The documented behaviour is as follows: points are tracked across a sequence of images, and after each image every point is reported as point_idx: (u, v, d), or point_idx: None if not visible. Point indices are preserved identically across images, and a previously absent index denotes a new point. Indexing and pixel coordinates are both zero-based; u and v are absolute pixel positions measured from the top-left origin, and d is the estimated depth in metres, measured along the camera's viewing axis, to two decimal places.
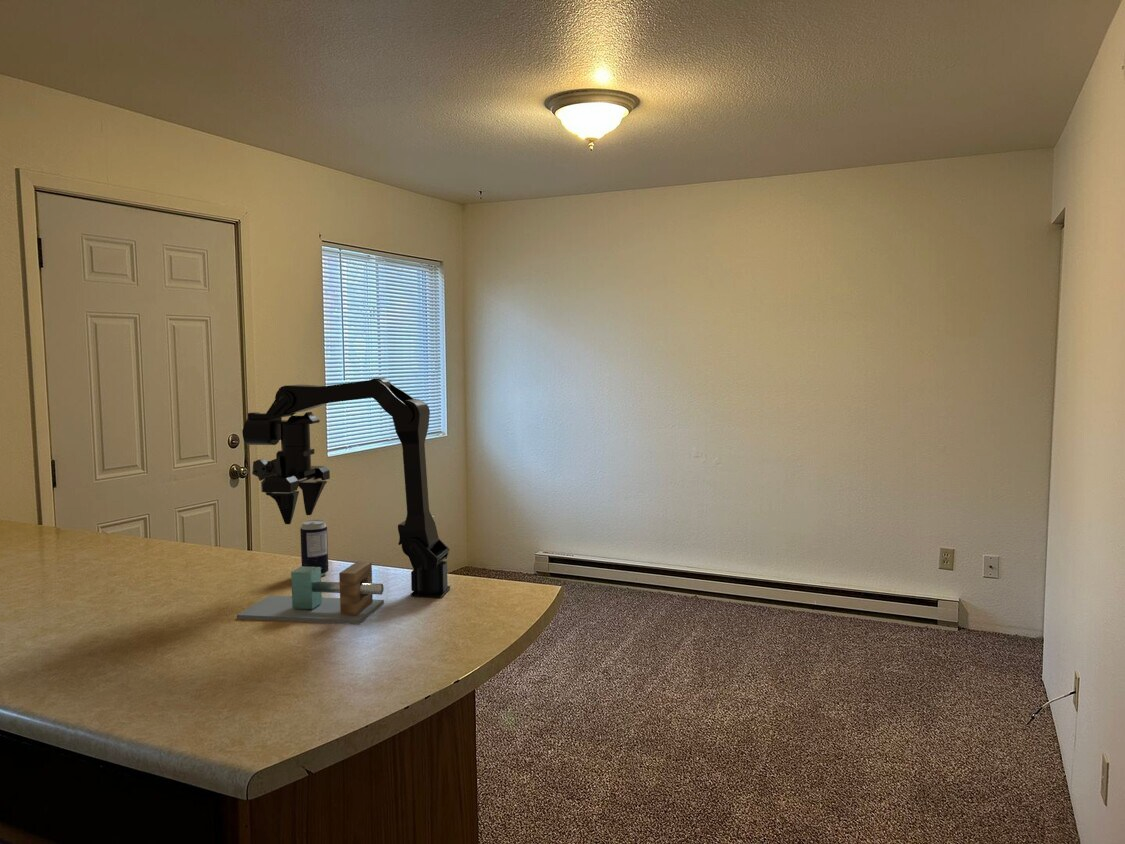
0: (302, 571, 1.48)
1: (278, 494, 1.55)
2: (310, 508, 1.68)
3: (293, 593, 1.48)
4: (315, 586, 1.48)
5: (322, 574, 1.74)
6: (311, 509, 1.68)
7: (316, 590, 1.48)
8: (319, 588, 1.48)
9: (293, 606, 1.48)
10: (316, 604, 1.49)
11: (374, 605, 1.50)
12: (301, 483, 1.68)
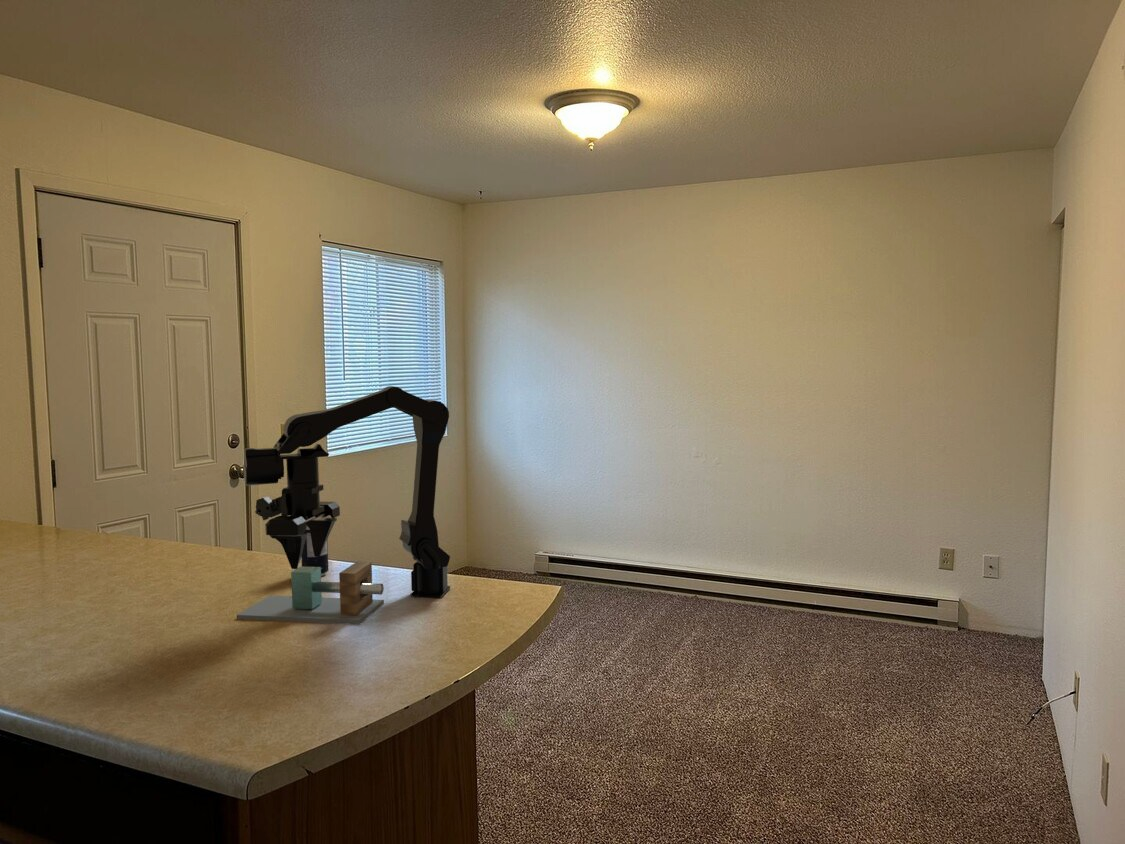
0: (302, 571, 1.48)
1: (284, 537, 1.41)
2: (318, 549, 1.53)
3: (293, 593, 1.48)
4: (315, 586, 1.48)
5: (322, 574, 1.74)
6: (320, 550, 1.53)
7: (316, 590, 1.48)
8: (319, 588, 1.48)
9: (293, 606, 1.48)
10: (316, 604, 1.49)
11: (374, 605, 1.50)
12: (309, 521, 1.54)
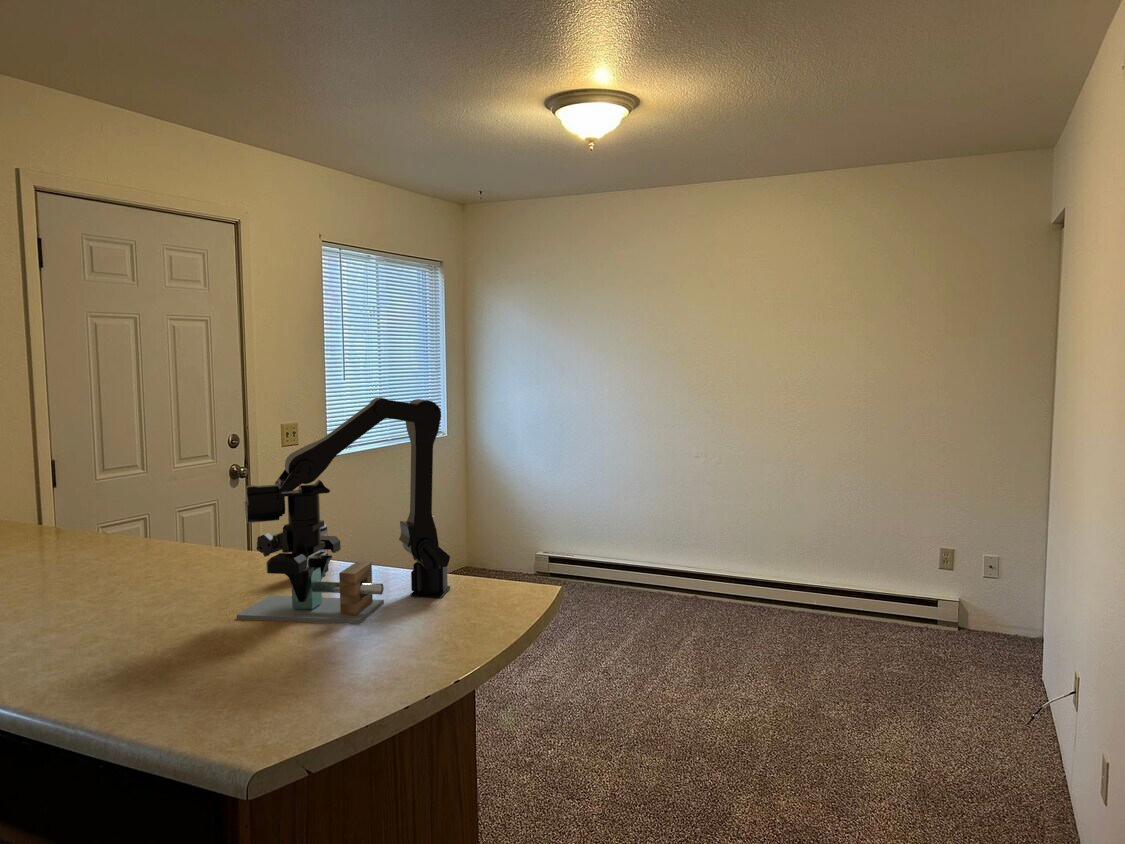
0: None
1: None
2: None
3: (293, 593, 1.48)
4: (315, 586, 1.48)
5: None
6: None
7: (316, 590, 1.48)
8: (319, 588, 1.48)
9: (293, 606, 1.48)
10: (316, 604, 1.49)
11: (374, 605, 1.50)
12: None
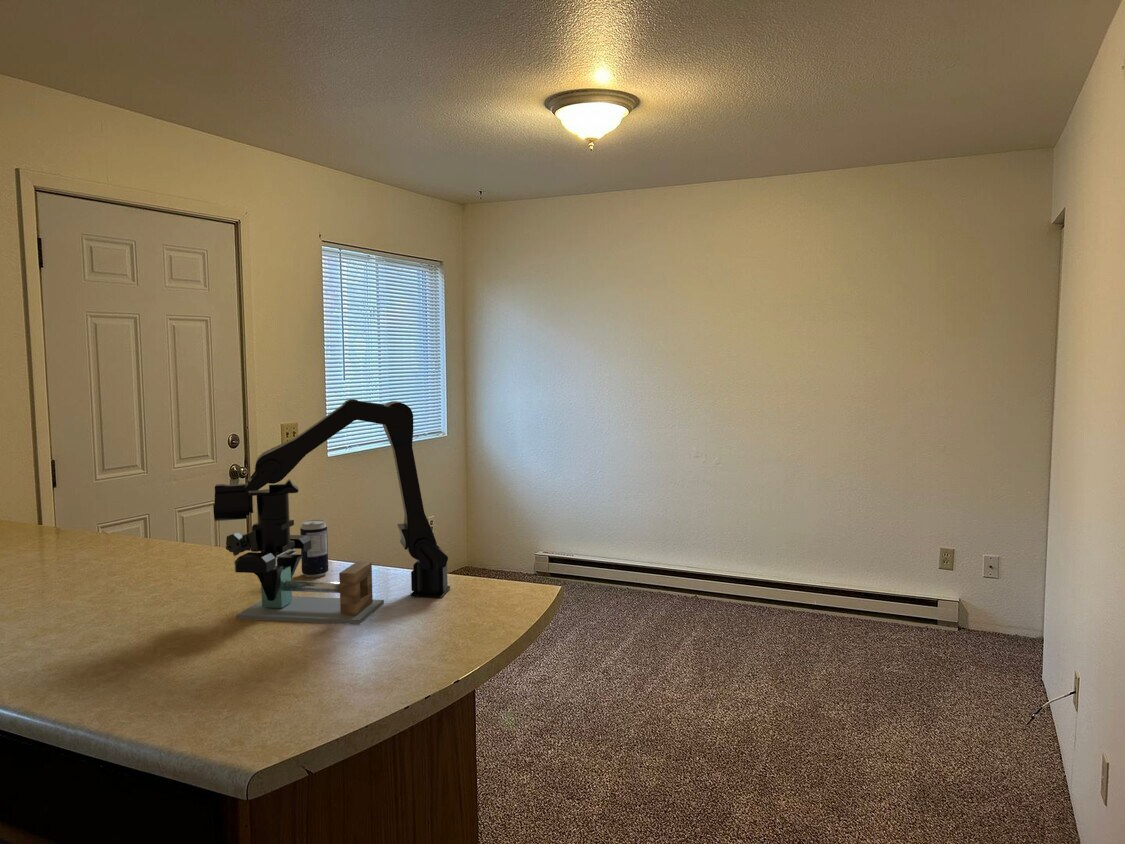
0: None
1: None
2: None
3: (263, 592, 1.49)
4: (285, 585, 1.49)
5: (322, 574, 1.74)
6: None
7: (286, 589, 1.49)
8: (289, 587, 1.49)
9: (263, 605, 1.49)
10: (286, 603, 1.50)
11: (374, 605, 1.50)
12: None
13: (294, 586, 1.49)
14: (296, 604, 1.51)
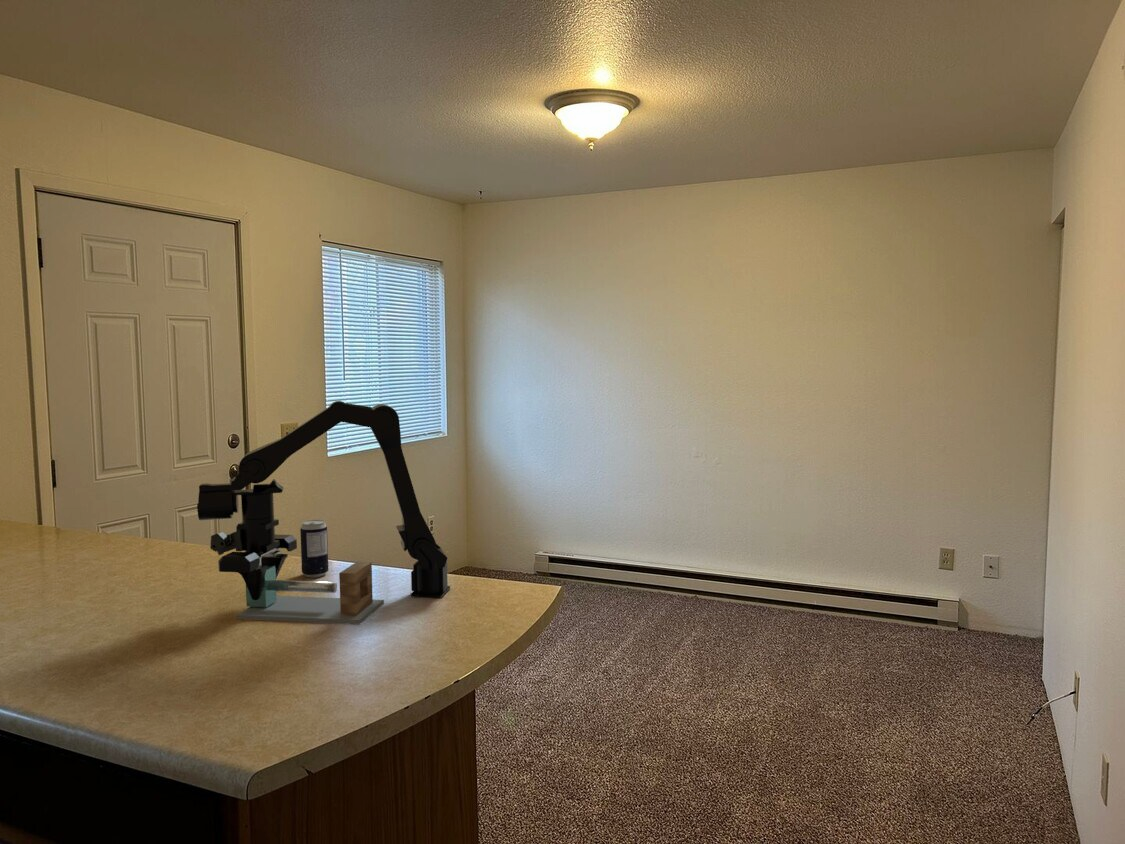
0: None
1: None
2: None
3: (247, 591, 1.49)
4: (269, 584, 1.49)
5: (322, 574, 1.74)
6: None
7: (270, 588, 1.50)
8: (273, 587, 1.49)
9: (247, 604, 1.49)
10: (270, 602, 1.50)
11: (374, 605, 1.50)
12: None
13: (278, 585, 1.49)
14: (296, 604, 1.51)
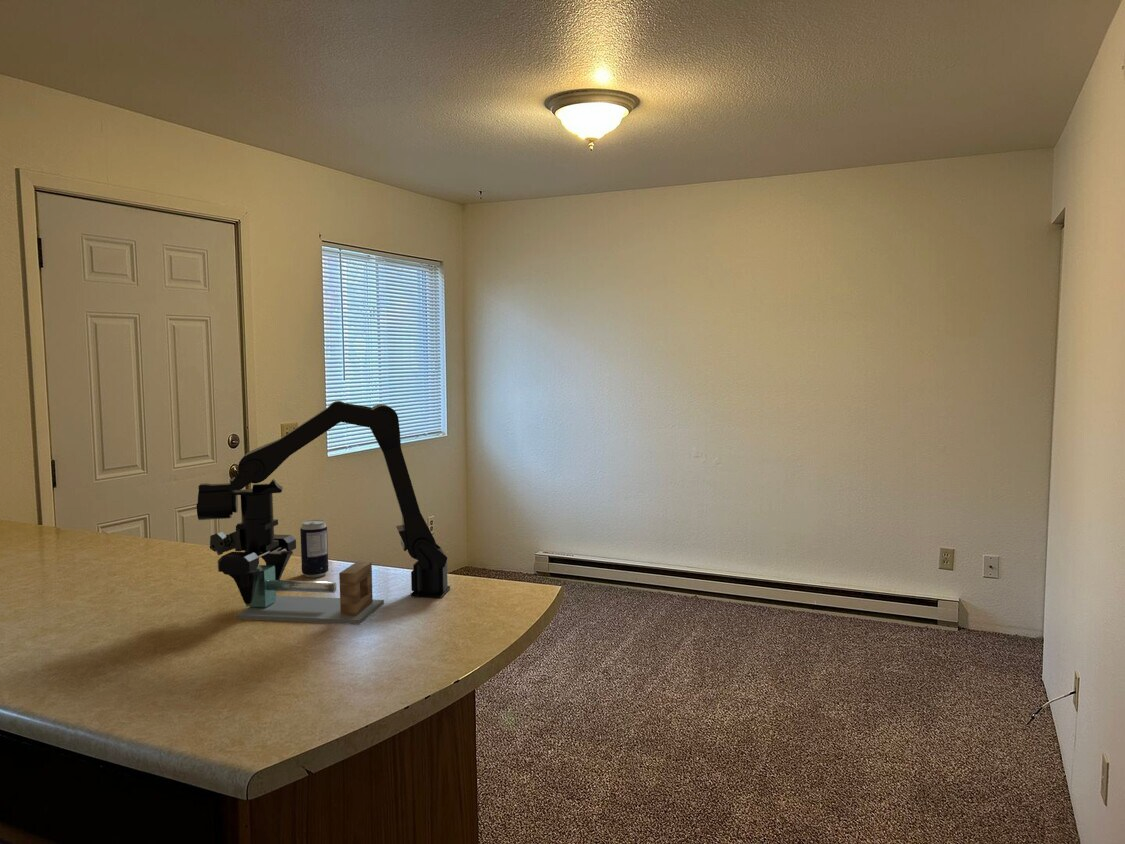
0: None
1: (236, 573, 1.42)
2: None
3: None
4: (268, 584, 1.49)
5: (322, 574, 1.74)
6: None
7: (269, 588, 1.50)
8: (273, 587, 1.49)
9: (246, 604, 1.49)
10: (270, 602, 1.50)
11: (374, 605, 1.50)
12: (265, 555, 1.56)
13: (278, 585, 1.49)
14: (296, 604, 1.51)
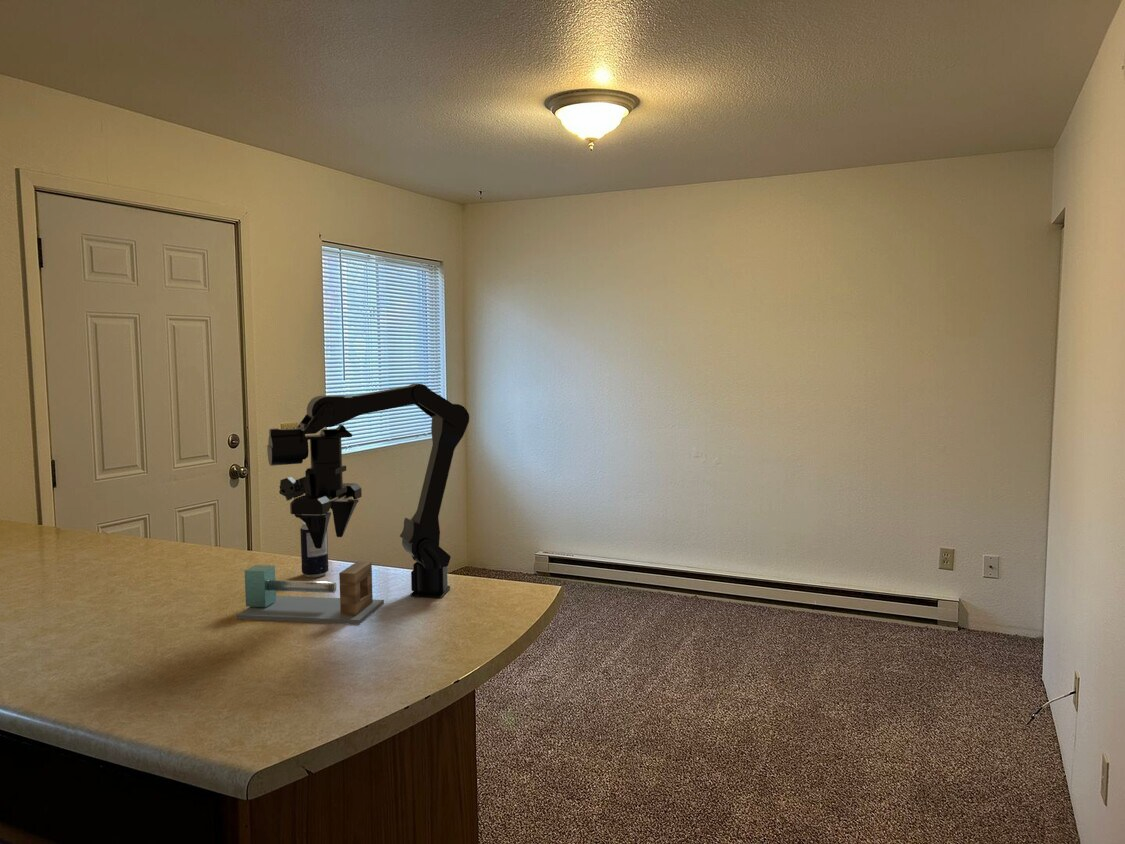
0: (255, 569, 1.49)
1: (309, 516, 1.42)
2: (341, 530, 1.54)
3: (246, 591, 1.49)
4: (268, 584, 1.49)
5: (322, 574, 1.74)
6: (342, 530, 1.54)
7: (269, 588, 1.50)
8: (273, 587, 1.49)
9: (246, 604, 1.49)
10: (270, 602, 1.50)
11: (374, 605, 1.50)
12: (331, 502, 1.55)
13: (278, 585, 1.49)
14: (296, 604, 1.51)
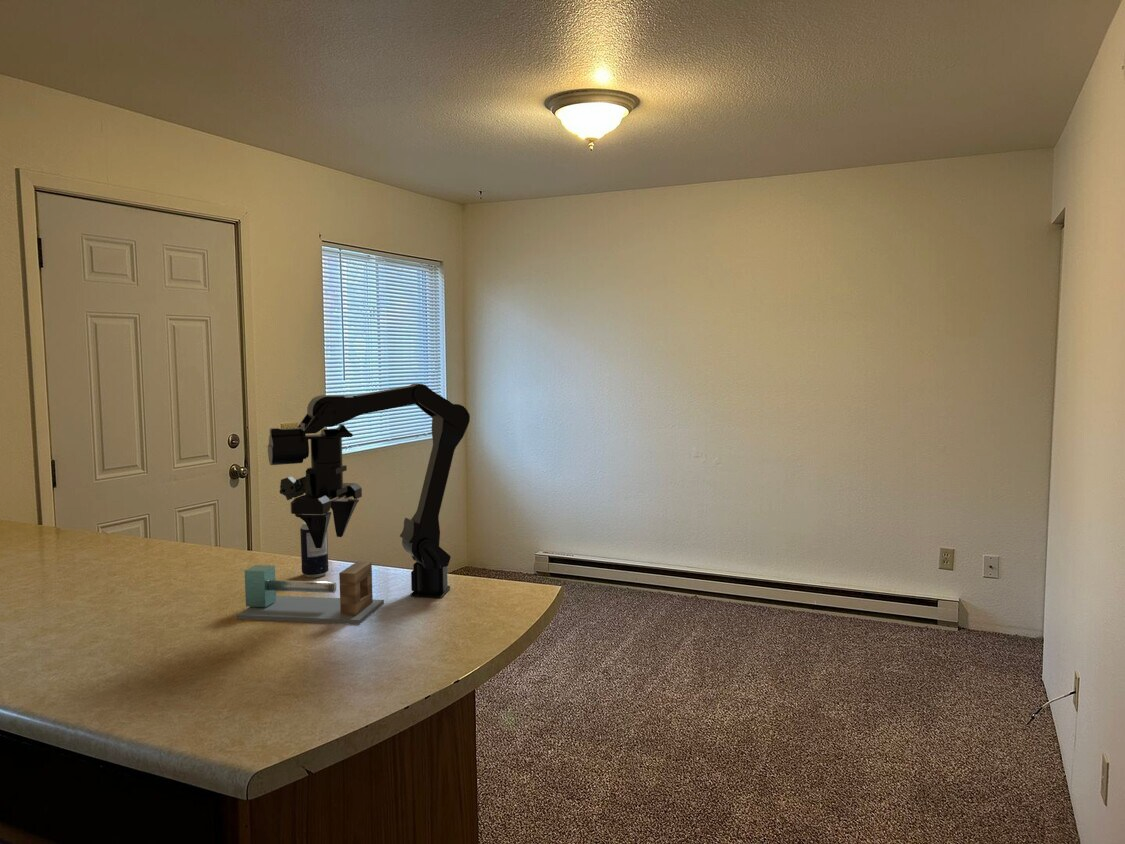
0: (255, 569, 1.49)
1: (309, 516, 1.42)
2: (341, 529, 1.54)
3: (246, 591, 1.49)
4: (268, 584, 1.49)
5: (322, 574, 1.74)
6: (342, 530, 1.54)
7: (269, 588, 1.50)
8: (273, 587, 1.49)
9: (246, 604, 1.49)
10: (270, 602, 1.50)
11: (374, 605, 1.50)
12: (331, 502, 1.55)
13: (278, 585, 1.49)
14: (296, 604, 1.51)
